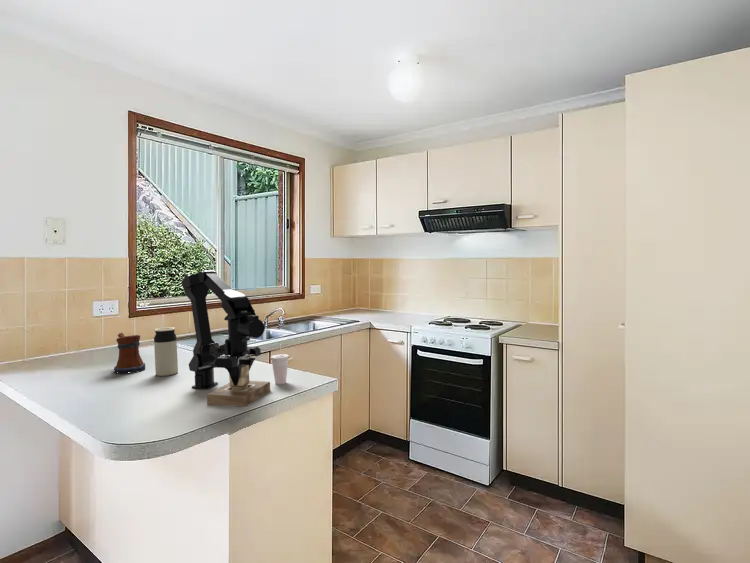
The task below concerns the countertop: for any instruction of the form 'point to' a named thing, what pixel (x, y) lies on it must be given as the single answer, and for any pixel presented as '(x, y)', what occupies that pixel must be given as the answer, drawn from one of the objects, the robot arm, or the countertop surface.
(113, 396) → the countertop surface
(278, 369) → the smoothie
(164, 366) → the travel mug
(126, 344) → the mug
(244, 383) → the peg
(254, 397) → the board
